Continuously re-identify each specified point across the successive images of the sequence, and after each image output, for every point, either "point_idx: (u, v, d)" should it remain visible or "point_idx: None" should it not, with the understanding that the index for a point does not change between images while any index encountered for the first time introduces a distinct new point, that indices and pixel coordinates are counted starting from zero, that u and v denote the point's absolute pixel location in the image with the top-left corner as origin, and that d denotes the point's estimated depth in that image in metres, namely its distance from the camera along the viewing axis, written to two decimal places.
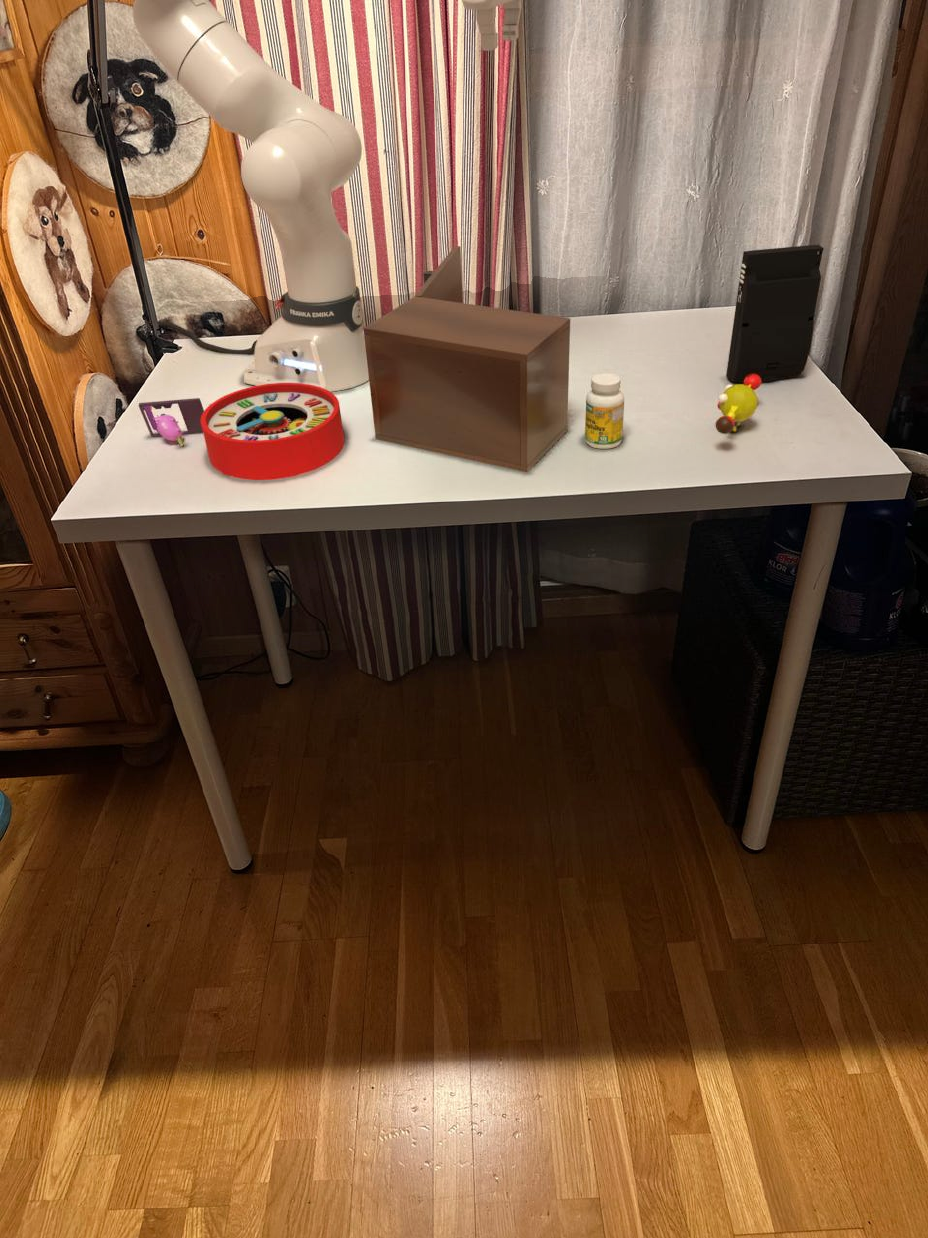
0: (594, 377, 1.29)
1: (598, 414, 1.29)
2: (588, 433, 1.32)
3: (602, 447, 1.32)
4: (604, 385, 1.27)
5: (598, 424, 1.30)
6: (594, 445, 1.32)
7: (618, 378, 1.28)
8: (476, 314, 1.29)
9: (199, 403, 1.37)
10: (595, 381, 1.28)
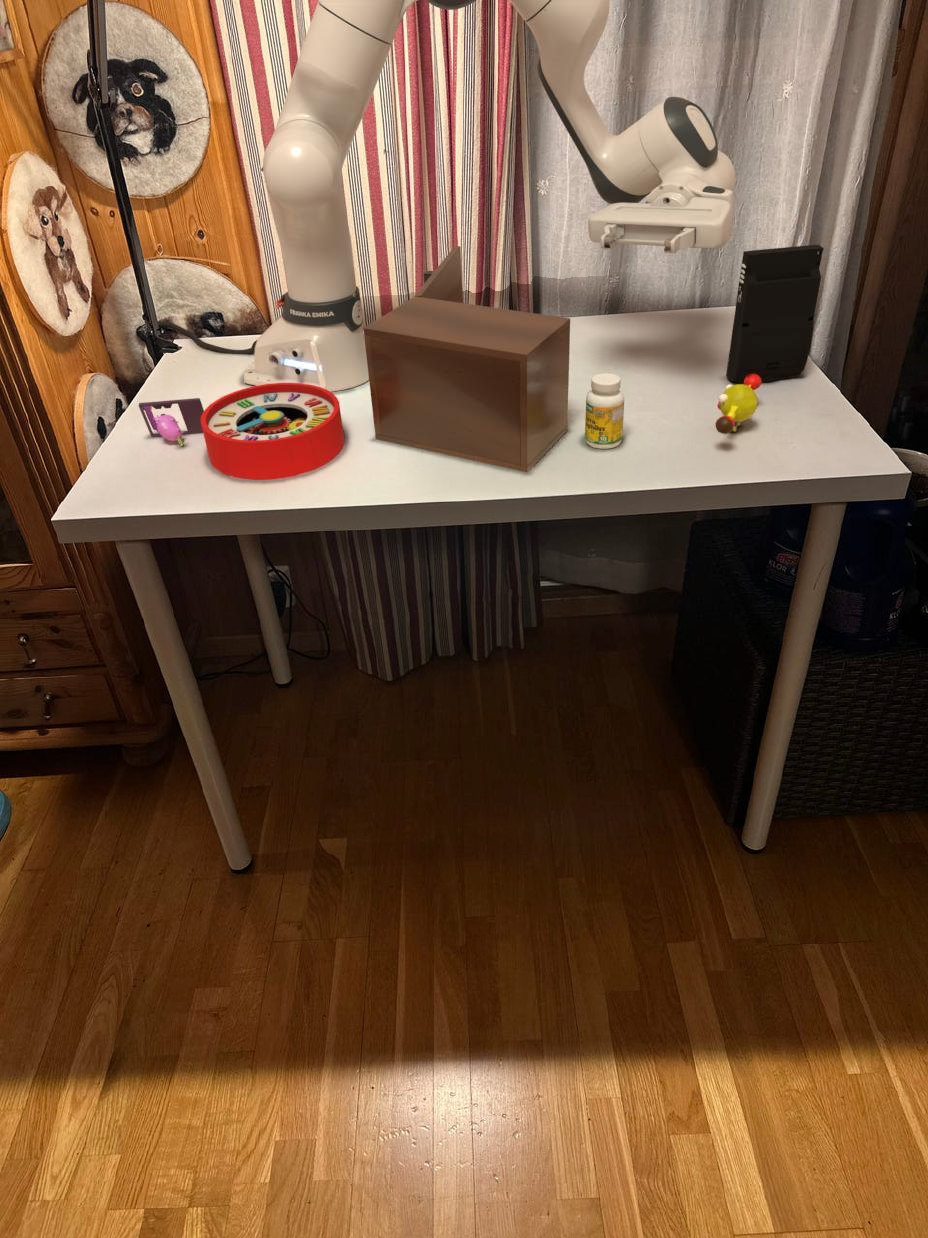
0: (594, 377, 1.29)
1: (598, 414, 1.29)
2: (588, 432, 1.32)
3: (602, 447, 1.32)
4: (604, 385, 1.27)
5: (598, 424, 1.30)
6: (594, 445, 1.32)
7: (618, 378, 1.28)
8: (476, 314, 1.29)
9: (199, 403, 1.37)
10: (595, 381, 1.28)
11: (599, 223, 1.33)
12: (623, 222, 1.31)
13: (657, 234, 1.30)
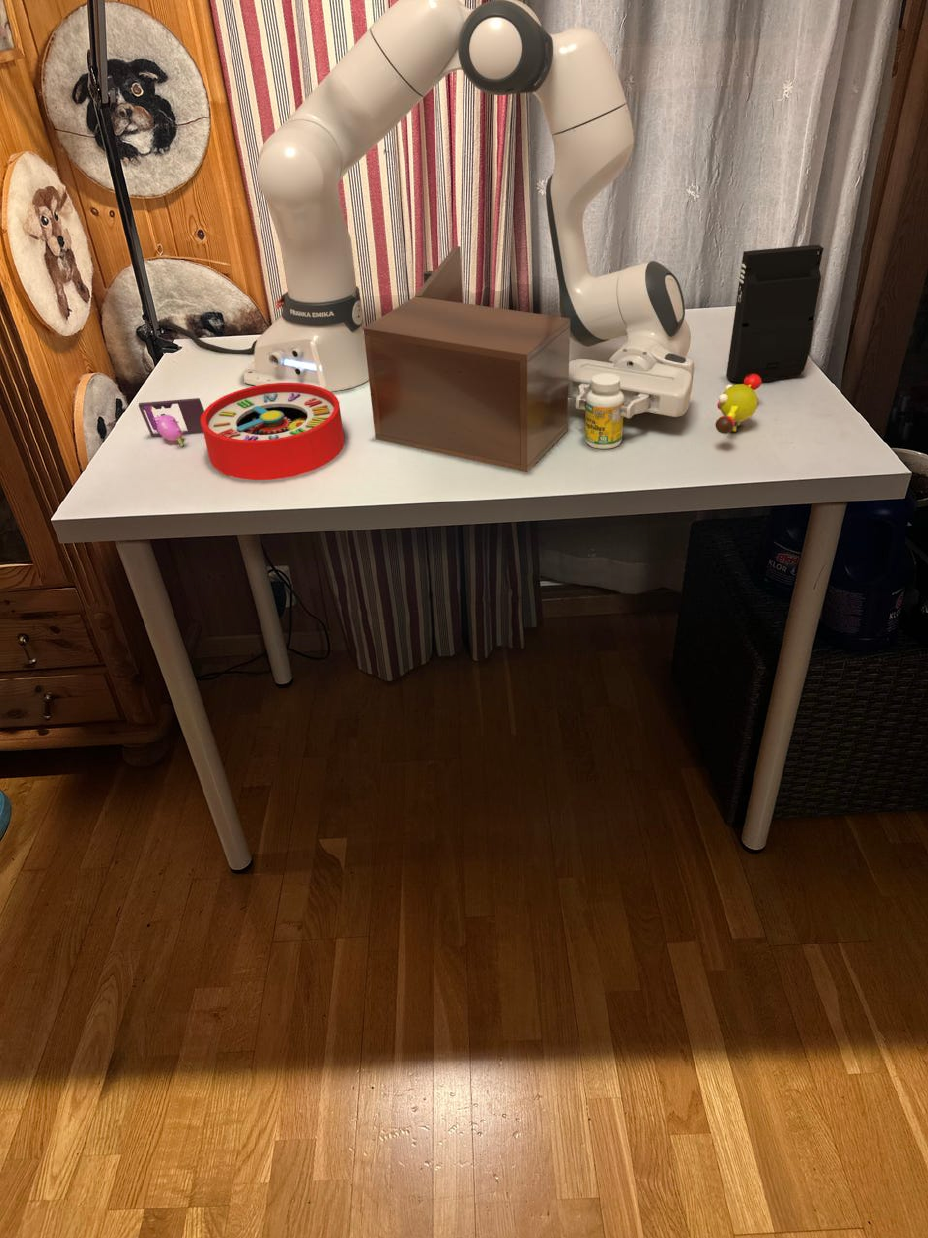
0: (594, 377, 1.29)
1: (598, 414, 1.29)
2: (588, 432, 1.32)
3: (602, 447, 1.32)
4: (603, 385, 1.27)
5: (598, 424, 1.30)
6: (594, 445, 1.32)
7: (618, 378, 1.28)
8: (476, 314, 1.29)
9: (199, 403, 1.37)
10: (595, 381, 1.28)
11: None
12: (588, 382, 1.34)
13: None
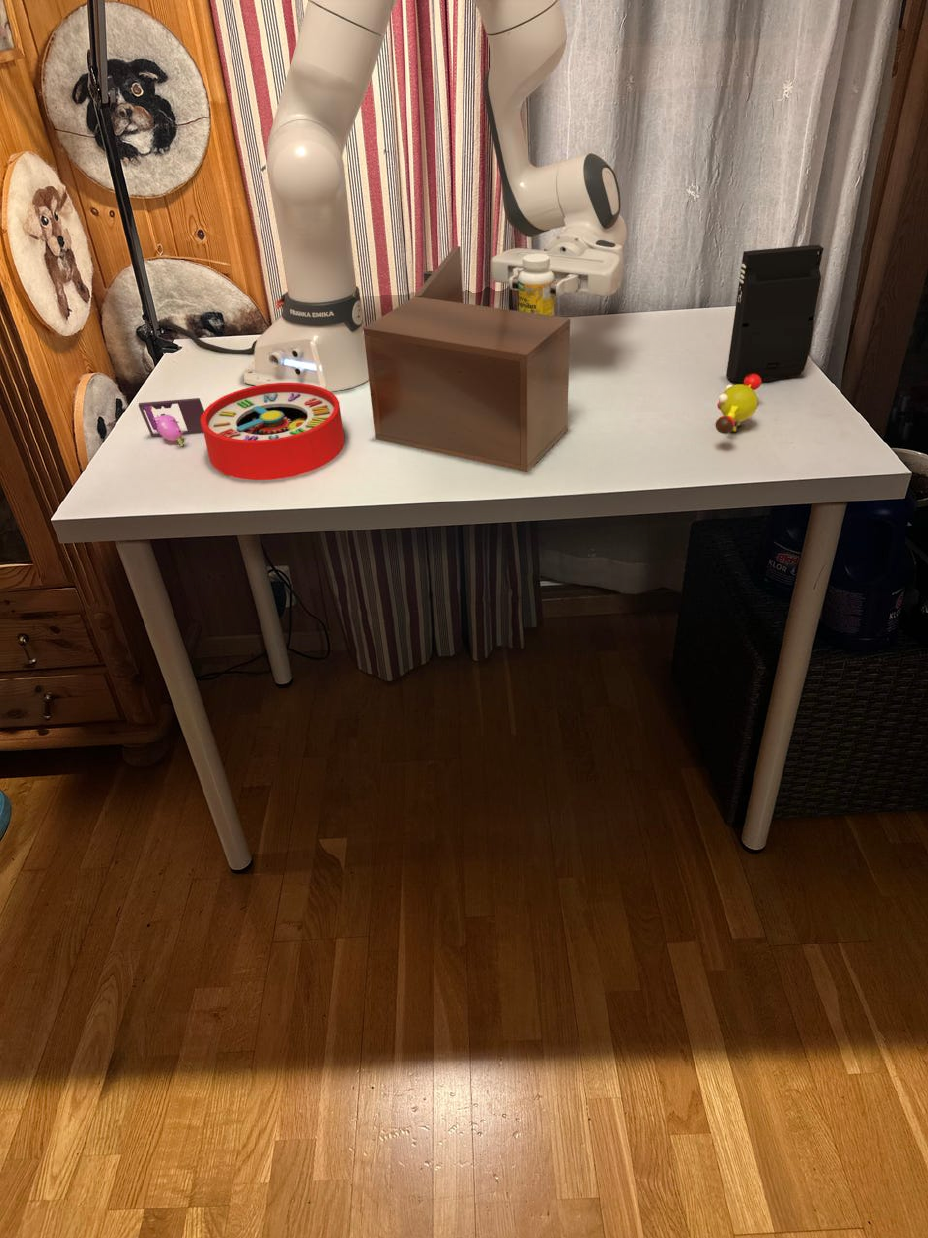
0: (525, 256, 1.36)
1: (529, 291, 1.36)
2: (521, 311, 1.39)
3: None
4: (533, 262, 1.34)
5: (530, 302, 1.37)
6: None
7: (548, 256, 1.35)
8: (476, 314, 1.29)
9: (199, 403, 1.37)
10: (526, 259, 1.35)
11: (500, 265, 1.43)
12: None
13: None
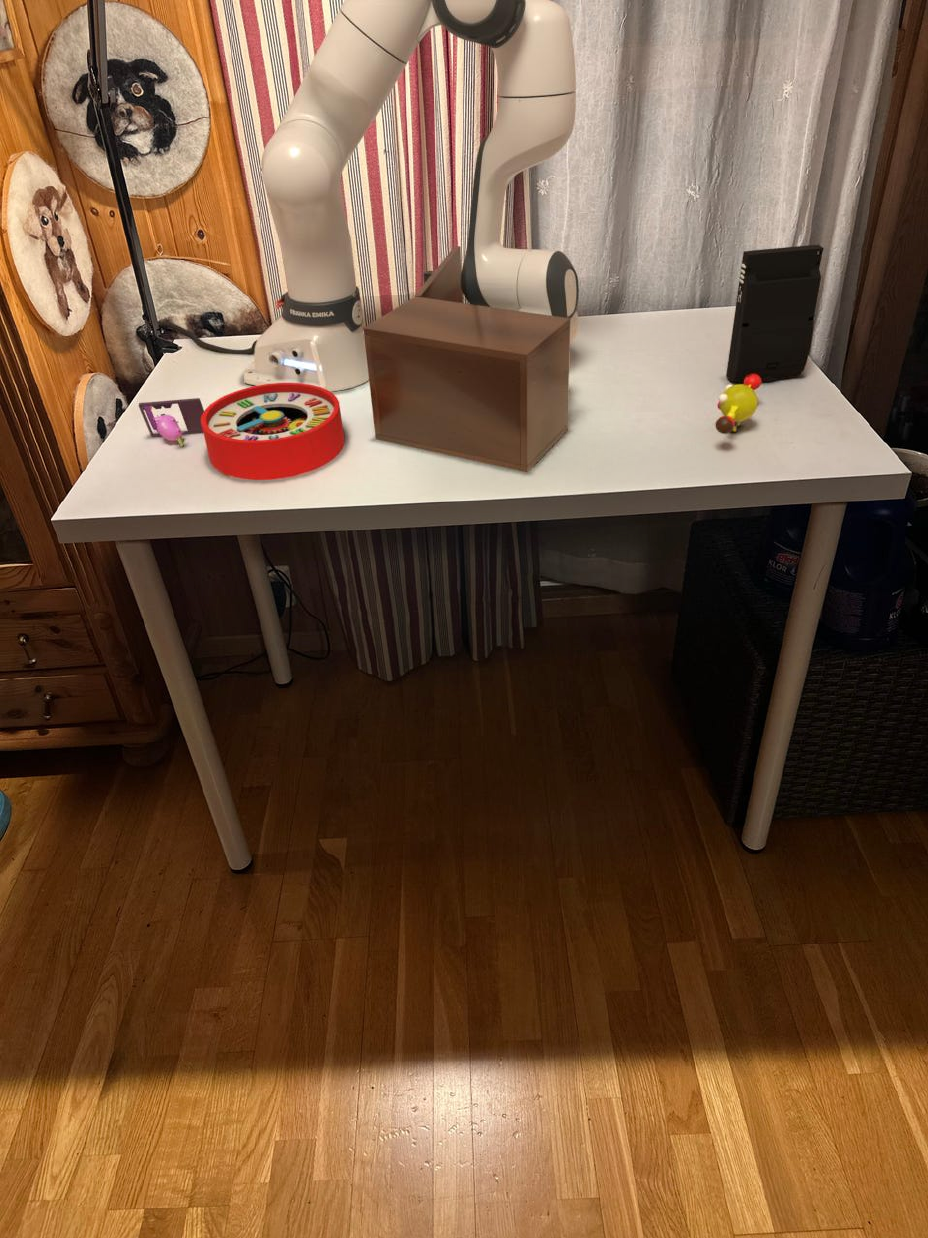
0: None
1: None
2: None
3: None
4: None
5: None
6: None
7: None
8: (476, 314, 1.29)
9: (199, 403, 1.37)
10: None
11: None
12: None
13: None
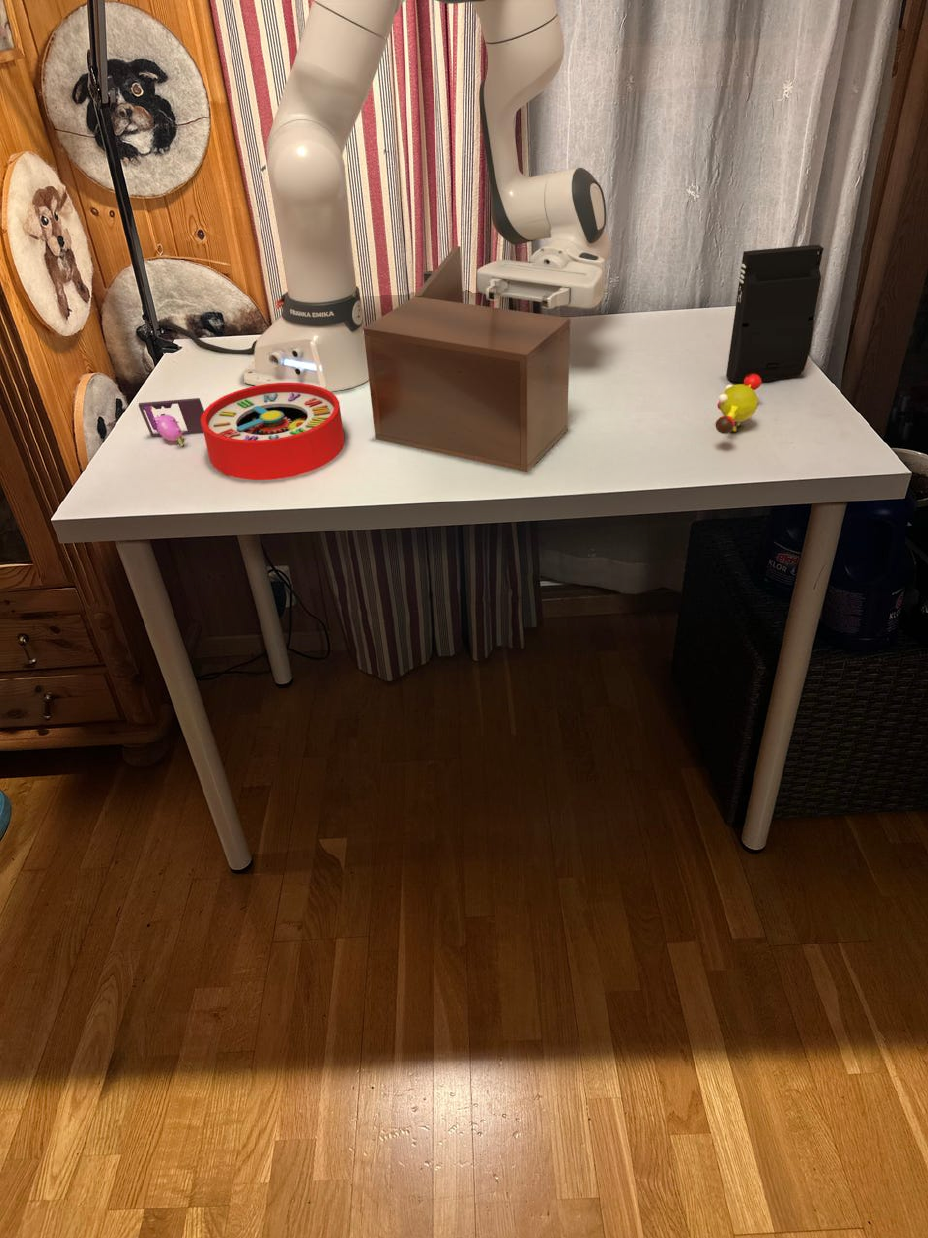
0: None
1: None
2: None
3: None
4: None
5: None
6: None
7: None
8: (476, 314, 1.29)
9: (199, 403, 1.37)
10: None
11: (485, 276, 1.45)
12: (507, 277, 1.44)
13: (537, 291, 1.43)
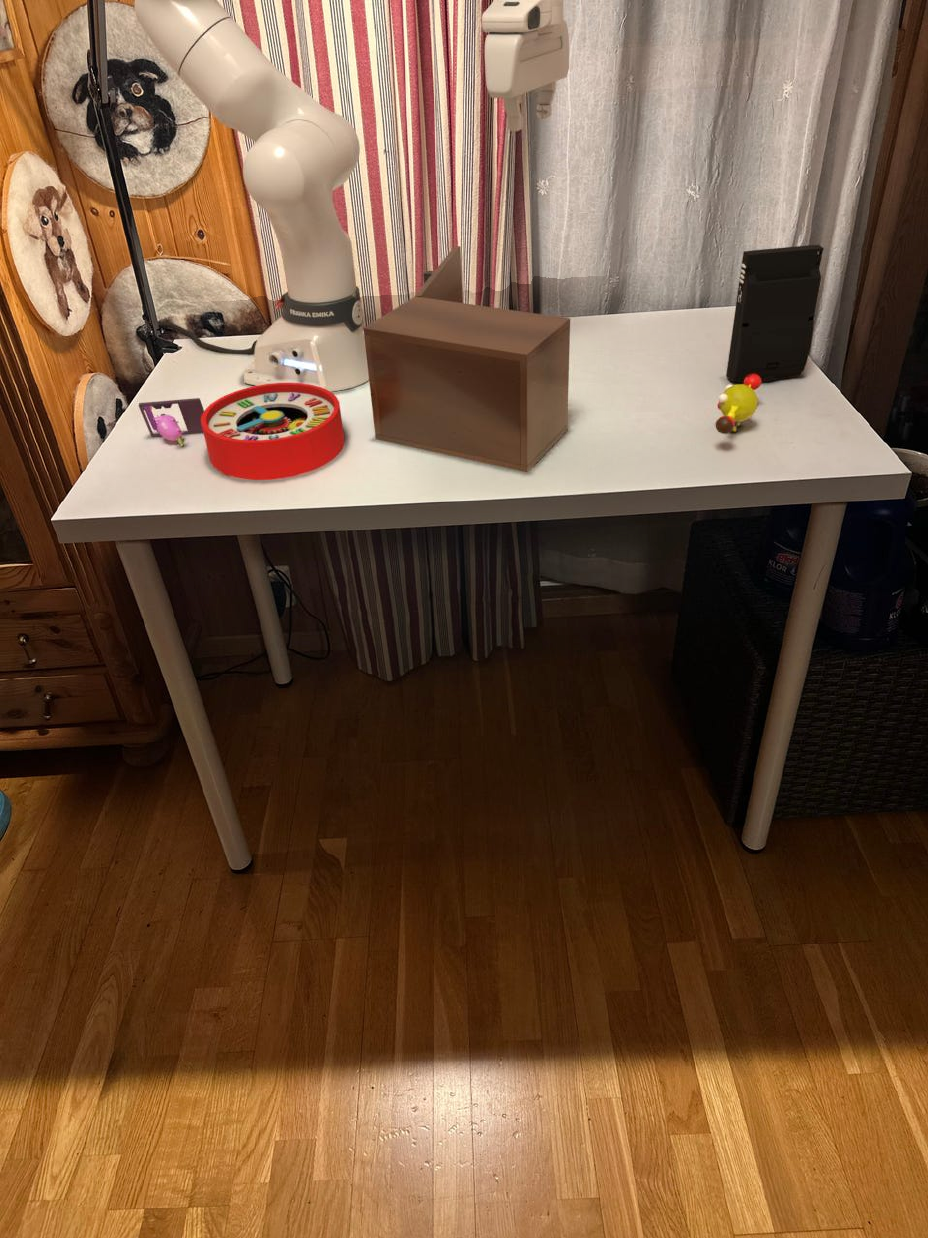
0: None
1: None
2: None
3: None
4: None
5: None
6: None
7: None
8: (476, 314, 1.29)
9: (199, 403, 1.37)
10: None
11: None
12: None
13: None
